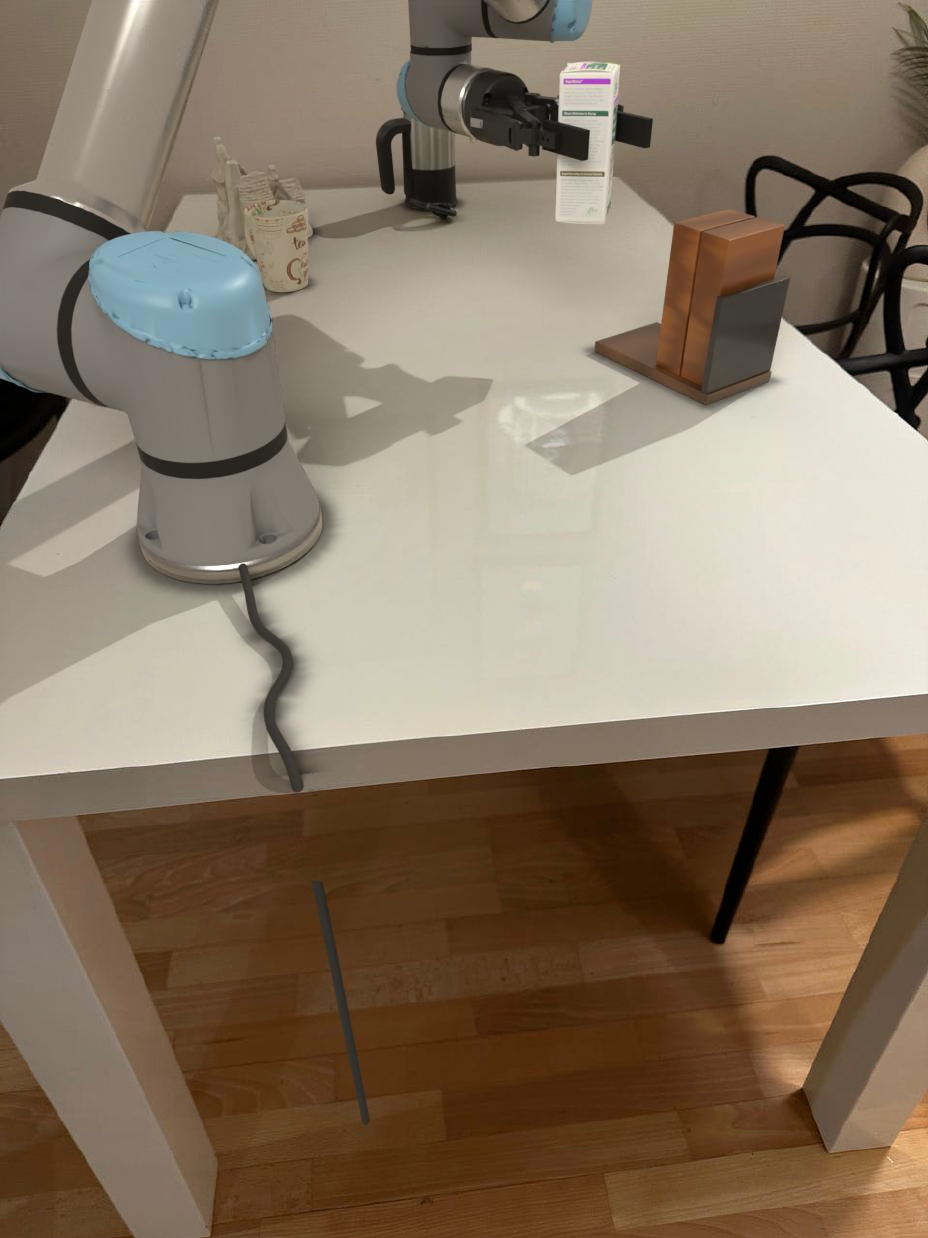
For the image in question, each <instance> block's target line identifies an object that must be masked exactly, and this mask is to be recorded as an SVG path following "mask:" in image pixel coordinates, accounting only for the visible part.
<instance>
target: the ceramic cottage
mask: <svg viewBox="0 0 928 1238" xmlns="http://www.w3.org/2000/svg"><path fill="white" fill-rule="evenodd" d="M212 141H213V144H214V146H215V149H214V157H215V159H216V165H215V167H214V169H213V170H212V171H211V176H210V177H211V181H212V182H213V183H214V185H215V190H216V195H217V202H216V205H217V211H216V214H217V221H218V223H219V226H218V227H217V231H216V233H214V238H216V239H219V240H222V241H225V242H227V243H229V244H231V245H233V246H235V247H237V248H238V249H240V250H241V251H243V252H244V253H245V254H246V255H247V256H248V257H249V258H250V259H251V260H252V261H254V260H255V261H257V259H256V258H255V257H254V255H253V254H252V253H251V251H250V249H249V247H248V245H247V242H246V238H245V222H246V220H245V216H244V210H245V209H246V208H247V207H248V206H250V205H253V204H256V203H260V202H266V201H275V200H289V201H297V202H301V203H304V204H305V205H306V206H307V203H306V200H307V198H306V195H305V192H304V189H303V188H302V185H301V183H300V181H299V179H298V178H297V177H291V178H288V179H279V175H278V172H277V166H276V165H274V164H270V165H268V166H267V175H266V173H265V172H264V171H262V172H260V171H259V170H255V171H251V172H248V170H247V168H246V167H244V166H242V165H241V164H240V162H238V160H236V159H235V158H234V157H233V156H231V155H228V154H227V151H226V147H225V146H224V144H223V140H222V138H221V137H220V136H215V137H213V138H212ZM313 234H314V230H313V227H312V226H311V224H310V223H308V238H310V237H312V236H313Z"/></svg>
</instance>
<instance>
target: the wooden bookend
mask: <svg viewBox="0 0 928 1238" xmlns="http://www.w3.org/2000/svg"><path fill="white" fill-rule="evenodd" d="M785 227H786V225H785V224H782V223H780V222H775V221H772V220H770V219H769V220H768V219H765V218H762V217H758V216H755V215H752V214H748V213H744V212H741V211H739V210H735V209H731V208H727V209H722V210H719V211H716V212H711V213H707V214H704V215H703V214H702V215H700V216H695V217H692V218H688V219H684V220H679V221H676V222H673V229H672V238H671V244H670V252H669V259H668V268H667V274H666V284H665V290H664V299H663V307H662V314H661V322H658V321H656V322H653V323H650V324H647V325H643V326H639V327H637V328H633V329H631V330H628V331H624V332H621V333H618V334H614V335H611V336H609V337H606V338H602V339H599V340H596V341H595V342H594V352H596V353H598V354H599V355H602V356H604V357H606V358H608V359H609V360H612V361H614V362H616V363H618V364H621V365H622V366H624V367H626V368H629V369H630V370H633V371H635V372H637V373H638V374H641V375H642V376H645V377H646V378H649V379H651V380H653V381H655V382H658V383H660V384H662V386H663V385H664V386H665V387H668V388H669V389H671V390H674V391H676V392H678V393H680V394H682V395H684V396H686V397H688V398H691V399H692V400H694V401H697V402H699V403H700V404H702V405H705V406H708V405H711V404H713V403H716V402H718V401H721V400H723V399H724V400H725V399H726V398H728V397H729V398H730V397H731V396H734V395H737V394H739V393H742V392H744V391H748V390H749V389H753V388H755V387H757V386H758V387H759V386H761V385H763V384H765V383H766V384H767V383H769V382H770V381H771V376H772V370H771V369H772V365H773V361H774V355H775V350H776V345H777V342H778V336H779V332H780V327H781V323H782V318H783V313H784V308H785V304H786V300H787V299H786V298H787V295H788V290H789V287H790V286H789V285H790V281H791V277H789V276H787V275H781V276H778V277H775V276H776V272H777V271H776V270H777V267H778V262H779V256H780V251H781V246H782V242H783V236H784V232H785Z"/></svg>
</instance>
